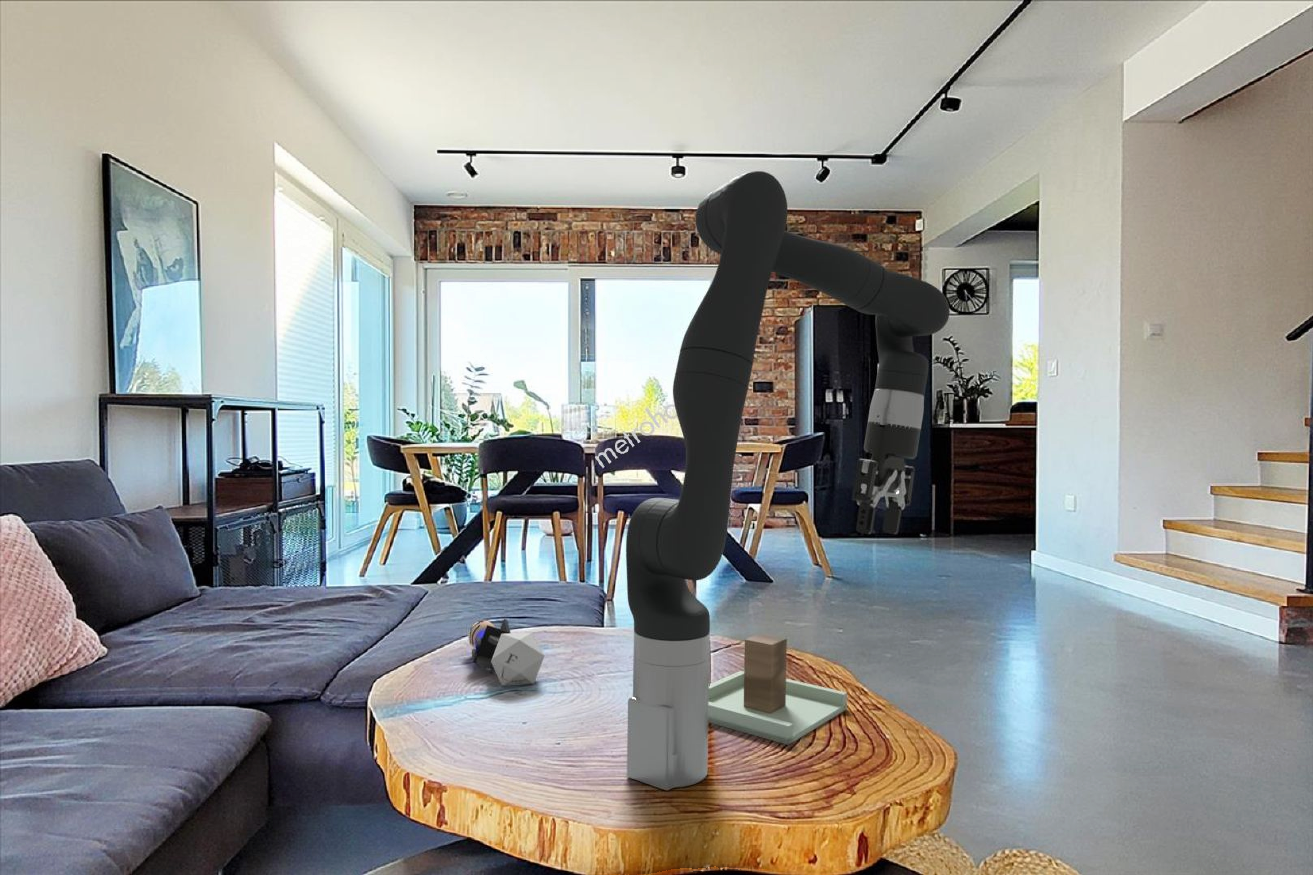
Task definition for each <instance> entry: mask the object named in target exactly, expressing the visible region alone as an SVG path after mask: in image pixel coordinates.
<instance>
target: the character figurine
mask: <svg viewBox="0 0 1313 875" xmlns="http://www.w3.org/2000/svg"><path fill="white" fill-rule="evenodd" d="M508 633H511V629H510V625H509V622H508V619H506V618H503V620H502V623H501V624H500V628H498V627H496V626H495V625H494V624H493V623H492V622H491V621H488V620H479V621H476V622H475V623H474V624H473V625H471V627H470V628H469V631H468V634H467V636H468V637H467V638H468V642H469V644H470V645H471V647H472V649H471V657H472V658H473V660H472V663H473V664H475V665H478V666H480V667H482V668H485V669H488V670H492V671H495V669H494V667H493V665H492V663H491V660H492V658H493V655H494V652H495V650H496V647H497V644H498V642H499V639H500V636H501V634H508Z"/></svg>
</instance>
